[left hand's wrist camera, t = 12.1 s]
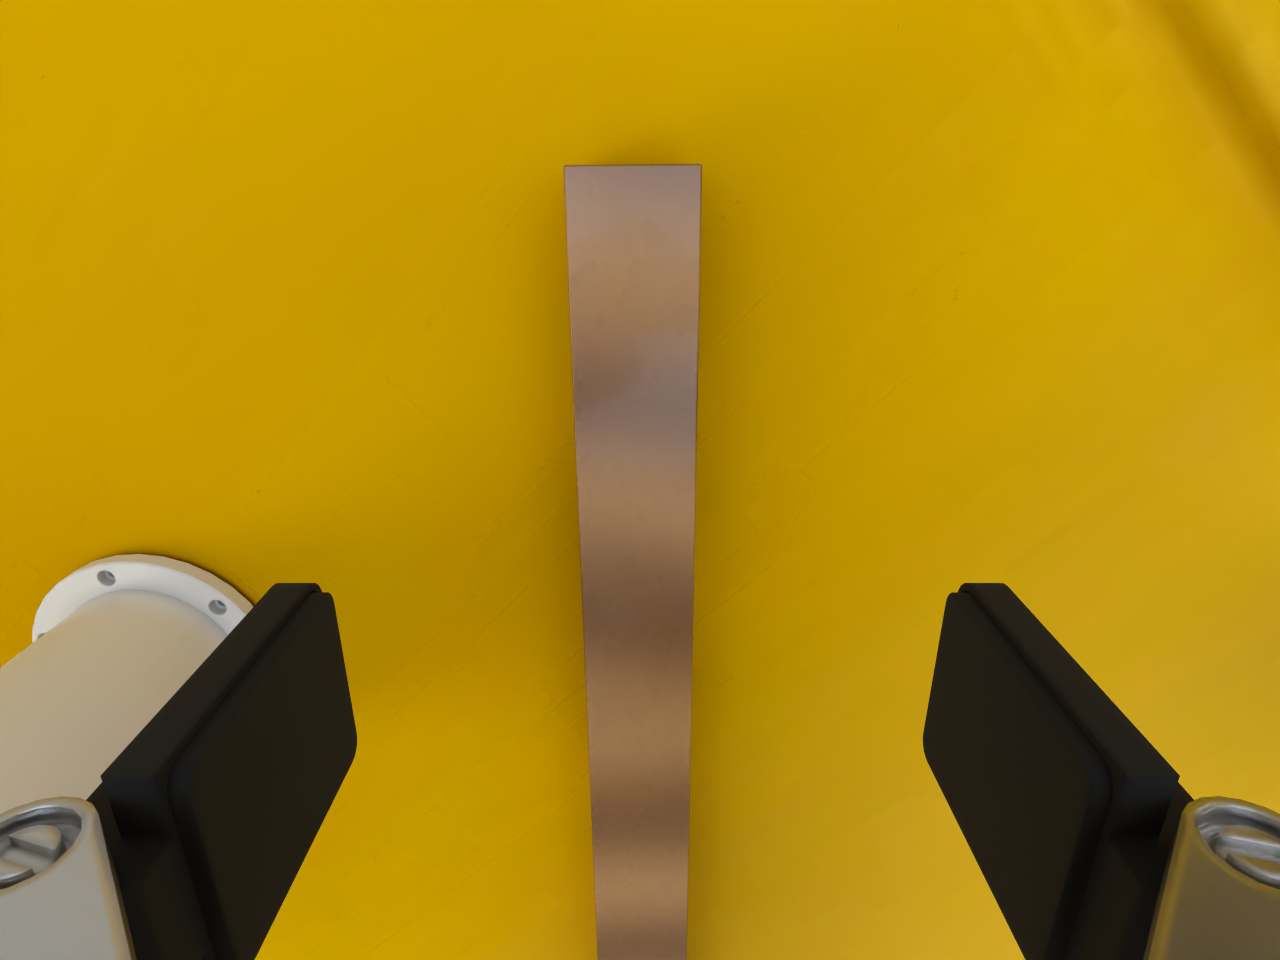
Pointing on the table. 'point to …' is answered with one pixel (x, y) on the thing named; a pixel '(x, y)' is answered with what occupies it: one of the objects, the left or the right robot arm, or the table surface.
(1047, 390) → the table surface
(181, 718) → the left robot arm
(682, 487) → the post
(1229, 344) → the table surface
